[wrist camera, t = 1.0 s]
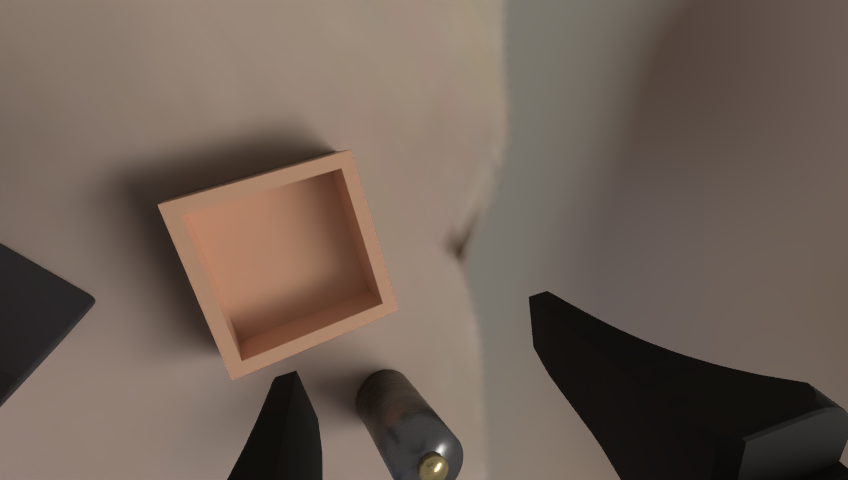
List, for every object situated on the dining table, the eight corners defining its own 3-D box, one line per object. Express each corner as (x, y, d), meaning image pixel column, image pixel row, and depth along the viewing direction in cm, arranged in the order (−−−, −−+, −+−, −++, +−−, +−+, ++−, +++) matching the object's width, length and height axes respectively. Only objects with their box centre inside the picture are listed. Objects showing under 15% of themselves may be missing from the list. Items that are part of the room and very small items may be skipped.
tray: (380, 295, 31) (398, 310, 28) (231, 355, 28) (231, 380, 24) (337, 151, 28) (350, 149, 25) (166, 199, 25) (157, 204, 22)
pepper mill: (416, 408, 33) (475, 483, 25) (365, 434, 32) (410, 521, 24) (402, 360, 32) (458, 423, 24) (348, 385, 31) (389, 459, 23)
